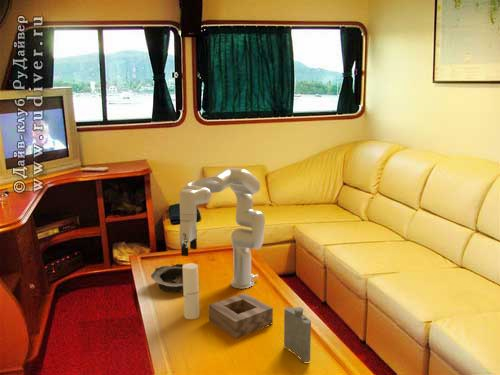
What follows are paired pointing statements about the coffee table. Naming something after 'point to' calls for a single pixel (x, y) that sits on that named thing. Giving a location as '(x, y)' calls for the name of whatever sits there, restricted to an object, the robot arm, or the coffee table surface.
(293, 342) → the hip flask
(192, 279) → the cylindrical container
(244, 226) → the robot arm
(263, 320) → the walnut well block
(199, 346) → the coffee table surface
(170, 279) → the stone bowl
